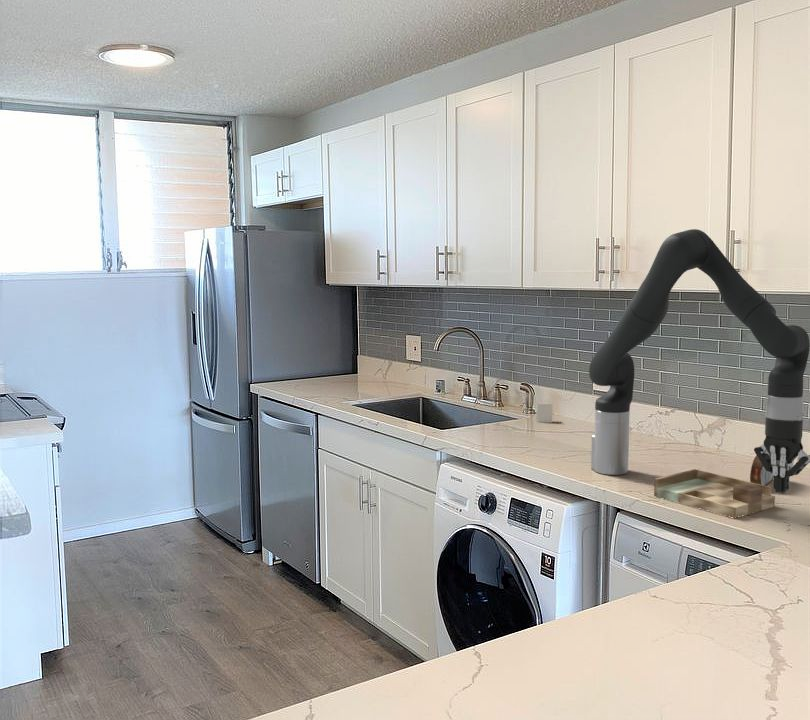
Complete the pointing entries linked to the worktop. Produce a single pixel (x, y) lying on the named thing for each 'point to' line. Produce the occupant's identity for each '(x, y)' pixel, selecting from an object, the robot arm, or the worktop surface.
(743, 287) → the robot arm
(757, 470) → the tin
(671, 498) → the tray
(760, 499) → the block
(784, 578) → the worktop surface
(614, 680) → the worktop surface
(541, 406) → the grey square slab
